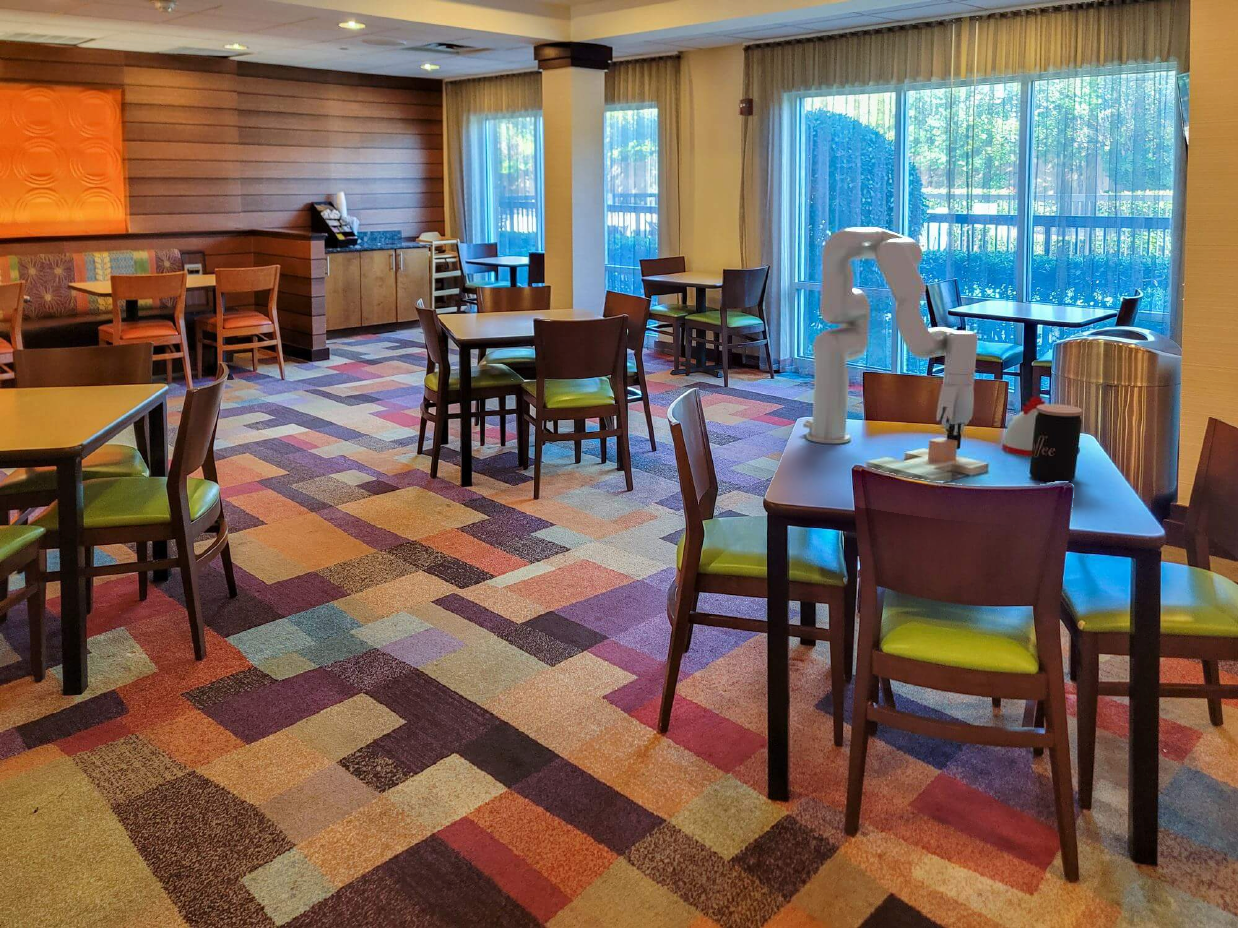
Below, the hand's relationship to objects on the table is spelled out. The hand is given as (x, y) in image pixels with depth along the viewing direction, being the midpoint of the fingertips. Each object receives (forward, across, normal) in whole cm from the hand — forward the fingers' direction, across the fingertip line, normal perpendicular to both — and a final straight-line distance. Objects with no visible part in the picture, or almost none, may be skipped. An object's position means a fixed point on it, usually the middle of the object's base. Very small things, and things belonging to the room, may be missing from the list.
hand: (953, 448), depth 276 cm
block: (+2, +5, 0) cm, 5 cm away
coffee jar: (+5, -7, +24) cm, 25 cm away
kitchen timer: (+5, -31, +4) cm, 31 cm away
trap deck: (+4, +10, 0) cm, 11 cm away
